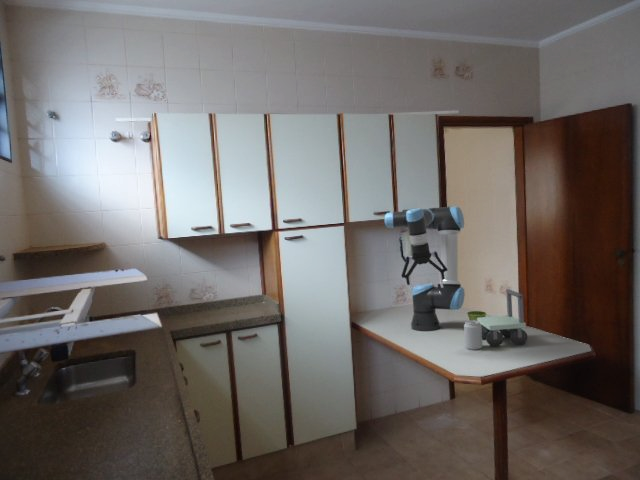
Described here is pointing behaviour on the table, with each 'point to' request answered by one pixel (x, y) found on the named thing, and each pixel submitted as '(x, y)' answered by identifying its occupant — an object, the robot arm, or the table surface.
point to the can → (473, 335)
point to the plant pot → (475, 315)
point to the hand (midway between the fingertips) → (426, 289)
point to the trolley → (505, 324)
